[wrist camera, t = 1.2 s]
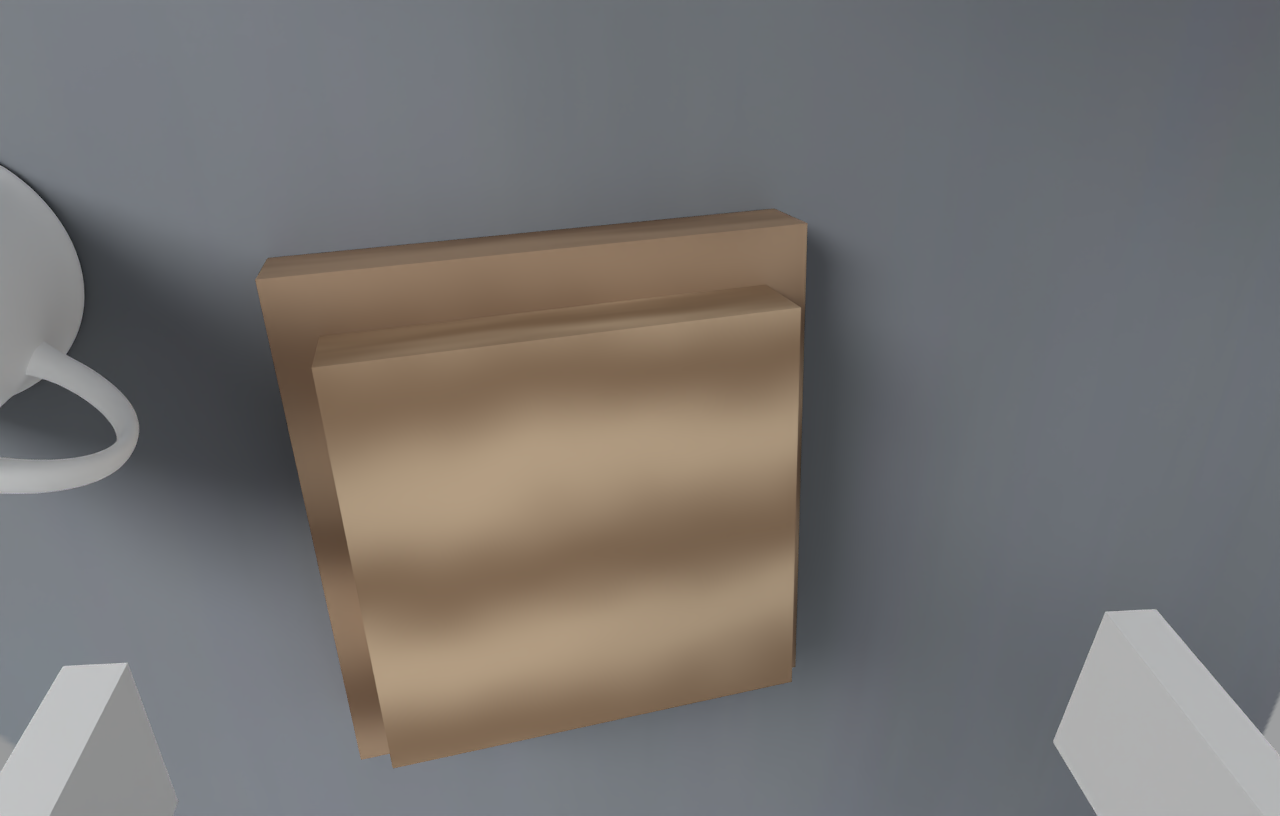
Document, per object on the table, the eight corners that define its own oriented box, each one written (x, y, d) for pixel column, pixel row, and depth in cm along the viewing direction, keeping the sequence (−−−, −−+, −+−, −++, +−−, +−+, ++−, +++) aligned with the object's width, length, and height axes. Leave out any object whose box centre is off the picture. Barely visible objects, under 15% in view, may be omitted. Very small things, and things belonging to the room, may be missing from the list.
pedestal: (267, 258, 30) (239, 306, 24) (774, 208, 34) (846, 240, 28) (363, 707, 37) (358, 820, 32) (769, 625, 41) (825, 714, 36)
